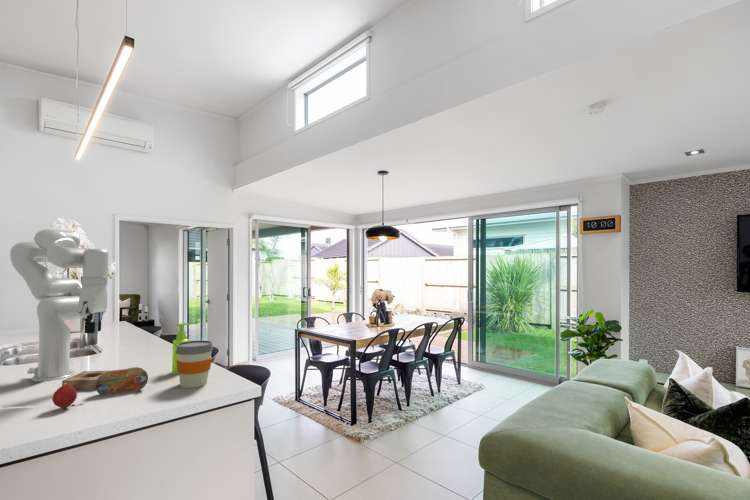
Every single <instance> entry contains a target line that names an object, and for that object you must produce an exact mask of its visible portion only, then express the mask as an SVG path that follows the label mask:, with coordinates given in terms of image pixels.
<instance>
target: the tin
mask: <svg viewBox="0 0 750 500" xmlns="http://www.w3.org/2000/svg"><path fill="white" fill-rule="evenodd" d="M106 371H107V372H105V373H103V374H102V375H101V376H100V377H99V378H98V380H97V382H96V392H97V393H98V395H100V396H104V397H105V396H108V395H113V394H121V393H127V392H133V391H137V392H139V391H141V390H142V389H144V388H145V387H146V385H147V383H148V381H149V375H148V372H147V371H146V370H145V369H143V368H141V367H137V366H134V367H129V368H122V369H121V368H120V369H113V370H112V371H111V370H106Z"/></svg>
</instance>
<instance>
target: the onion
mask: <svg viewBox="0 0 750 500" xmlns="http://www.w3.org/2000/svg"><path fill="white" fill-rule="evenodd" d="M77 397H78V392H77V390H75V388H74V387H72V386H70V385H68V384H67V383H63V384H61V386H60V387H58V389H57V390H55V391H54V393H53V394H52V397H51V400H52V402H53V404H54V405H55V406H57V407H58V408H60V409H61V410H66V409H67V408H69V407H70V406H71V405H73V404H74V403H75V401H76V399H77Z"/></svg>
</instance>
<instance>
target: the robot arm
mask: <svg viewBox="0 0 750 500" xmlns="http://www.w3.org/2000/svg"><path fill="white" fill-rule="evenodd" d="M33 240H34V241H22V242H18V243H16V244H14V245H12V247H11V249H10V252H9V254H10V255H9V258H10V261H11V264H12V266H13V269H15V271H16V272H17V273H18V274H19V275H20V276H21V277H22V279H23V280H24V281H25V283H26V285H27V287H28V288H29V290H30V292H31V295H32V296H33V298H34V299H35V300H36V301H38V304H37V306H36V313H37V320H38V327H39V329H38V339H39V340H38V353H37V354H38V355H37V356H38V357H37V366H36V367H29V368H28V370H27V374H28V375H29V374H33V376H32V378H31V381H32V382H35V383H43V382H48V381H49V382H50V381H57V380H61V379H67V378H70V377H72V376H74V374H75V371H74V370H70V362H71V361H70V360H71V359H70V357H71V338H72V337H71V335H72V333H71V328H70V326H68V325H67V323H66V322H65V321H68V320H69V321H70V320H78V319H83V323H84V334H88V333H95V322H94V317H95V313H98V312H99V318H98V332H100V331H102V320H103V315H104V314H105V313H106V310H107V308H108V289H107V288H108V279H109V278H108V277H109V276H108V275H109V255H110V254H109V253H110V252H109V250H107V249H104V248H87V247H86V248H84V247H80V246H81V245H80V244H81V238H80V235H79V234H78V233H77V232H75V231H72V230H65V229H50V228H48V229H42V230H39V231H37V232H36V233H35V234H34V237H33ZM41 263H50V264H53V265H54V266H55V267H58V268H61V269H82V282H81V281H79V280H78V279H76V278H74V277H73V278H72V277H55V276H54V275H53V273H52V272H51V271H50V269H49V268H47V267H46V266H44V265H42V264H41ZM89 312H90V313H89ZM90 315H91V317H90Z"/></svg>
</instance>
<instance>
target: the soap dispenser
mask: <svg viewBox="0 0 750 500" xmlns="http://www.w3.org/2000/svg"><path fill="white" fill-rule="evenodd" d="M185 325H191V323H189V322H180V323H178V324H176V326H178V331H176V339H173V340H172V363H171V365H172V366H171V369H172V370H171V371H172V372H171V373H172V374H173V375H179V373H178V370H177V359H178V358H177V353H176V349H177V344H179V343H182V342H188V341H190V339H189V338H187V337H186V334H187V333H186V330H184V329H185V328H184V326H185Z"/></svg>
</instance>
